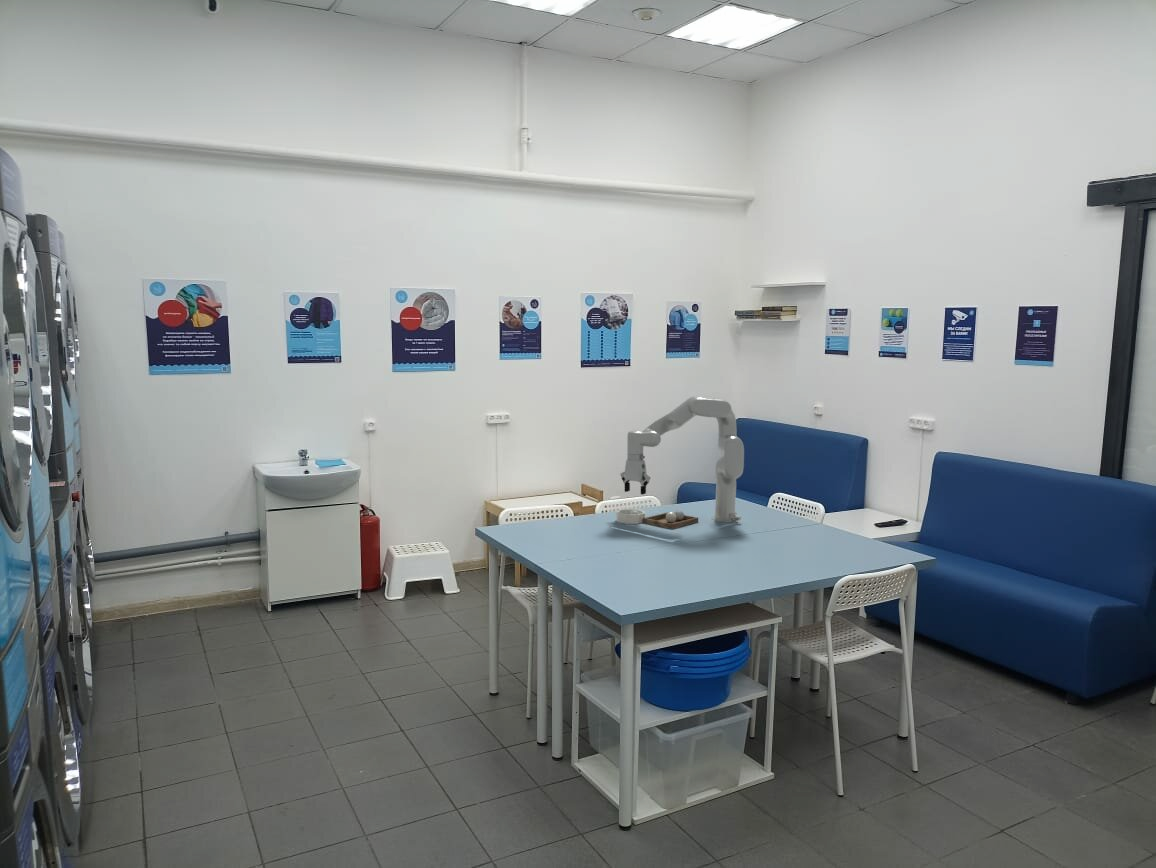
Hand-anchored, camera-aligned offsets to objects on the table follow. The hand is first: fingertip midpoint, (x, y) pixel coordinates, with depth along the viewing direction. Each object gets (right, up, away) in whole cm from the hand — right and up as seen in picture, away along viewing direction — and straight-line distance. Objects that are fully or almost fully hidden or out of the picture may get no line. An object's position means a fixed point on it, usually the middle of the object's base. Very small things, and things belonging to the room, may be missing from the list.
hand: (635, 492), depth 386 cm
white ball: (-1, -13, +1) cm, 13 cm away
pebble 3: (+21, -14, +2) cm, 25 cm away
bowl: (-2, -14, 0) cm, 14 cm away
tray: (+17, -15, -2) cm, 22 cm away
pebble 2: (+17, -14, -2) cm, 22 cm away
